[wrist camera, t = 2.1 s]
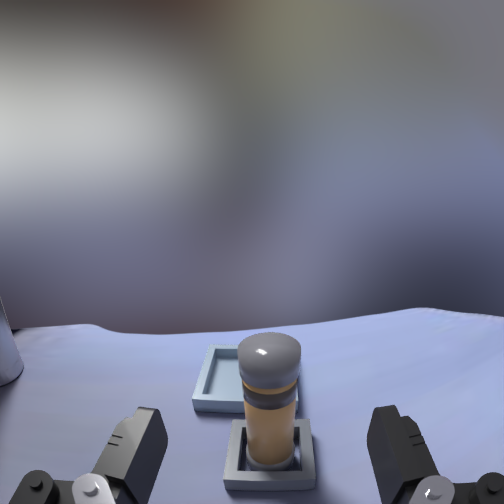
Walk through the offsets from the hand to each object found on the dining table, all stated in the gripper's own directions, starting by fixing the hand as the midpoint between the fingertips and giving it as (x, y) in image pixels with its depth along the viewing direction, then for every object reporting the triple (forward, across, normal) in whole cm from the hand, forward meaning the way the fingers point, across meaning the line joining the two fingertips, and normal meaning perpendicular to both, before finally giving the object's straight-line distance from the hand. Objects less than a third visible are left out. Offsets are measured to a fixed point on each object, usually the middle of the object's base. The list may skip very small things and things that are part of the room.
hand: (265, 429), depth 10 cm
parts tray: (+24, +3, +17) cm, 30 cm away
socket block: (+12, 0, +18) cm, 21 cm away
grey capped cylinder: (+12, 0, +18) cm, 21 cm away
